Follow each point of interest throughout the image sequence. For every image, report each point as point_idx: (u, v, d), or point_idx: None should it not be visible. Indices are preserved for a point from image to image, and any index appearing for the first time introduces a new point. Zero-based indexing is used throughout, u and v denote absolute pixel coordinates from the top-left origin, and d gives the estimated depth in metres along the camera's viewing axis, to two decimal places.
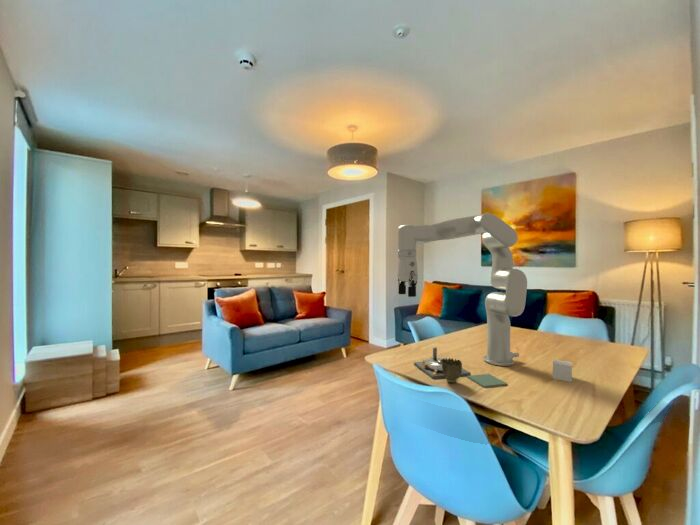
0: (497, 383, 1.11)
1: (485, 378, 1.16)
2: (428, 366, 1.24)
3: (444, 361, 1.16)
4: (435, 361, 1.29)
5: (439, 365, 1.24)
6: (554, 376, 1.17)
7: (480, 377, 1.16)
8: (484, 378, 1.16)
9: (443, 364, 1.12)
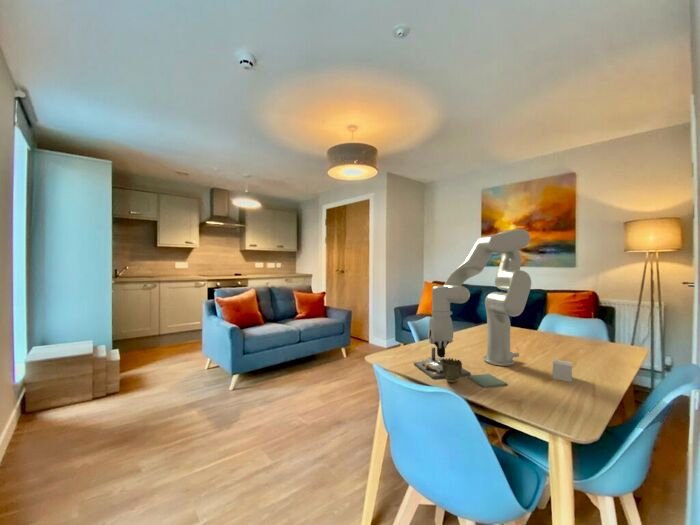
0: (497, 383, 1.11)
1: (485, 378, 1.16)
2: (430, 367, 1.23)
3: (444, 361, 1.16)
4: (435, 361, 1.28)
5: (440, 365, 1.24)
6: (554, 376, 1.17)
7: (480, 377, 1.16)
8: (484, 378, 1.16)
9: (443, 364, 1.12)
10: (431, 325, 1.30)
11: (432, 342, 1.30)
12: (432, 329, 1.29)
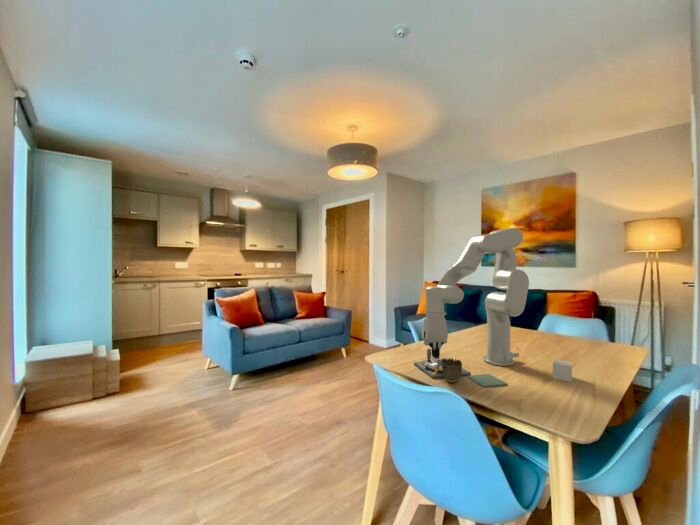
0: (497, 383, 1.11)
1: (485, 378, 1.16)
2: (440, 369, 1.21)
3: (444, 361, 1.16)
4: (434, 362, 1.27)
5: None
6: (554, 376, 1.17)
7: (480, 377, 1.16)
8: (484, 378, 1.16)
9: (443, 364, 1.12)
10: (425, 326, 1.29)
11: (426, 343, 1.29)
12: (426, 330, 1.28)
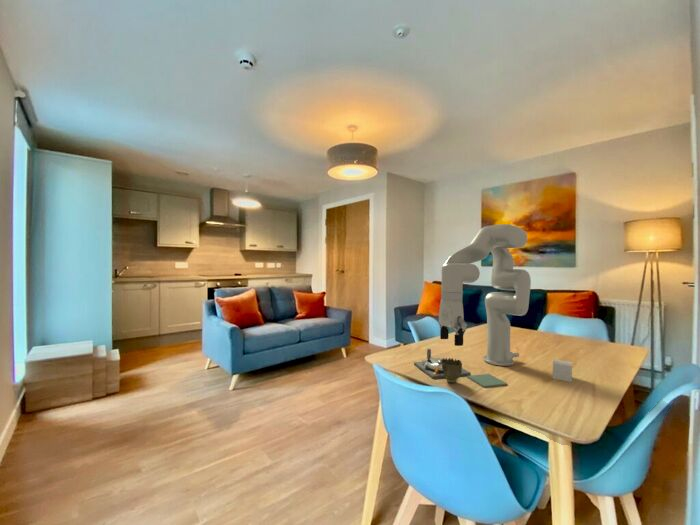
0: (497, 383, 1.11)
1: (485, 378, 1.16)
2: (440, 369, 1.21)
3: (444, 361, 1.16)
4: (434, 362, 1.27)
5: None
6: (554, 376, 1.17)
7: (480, 377, 1.16)
8: (484, 378, 1.16)
9: (443, 364, 1.12)
10: (460, 310, 1.09)
11: None
12: (462, 314, 1.09)
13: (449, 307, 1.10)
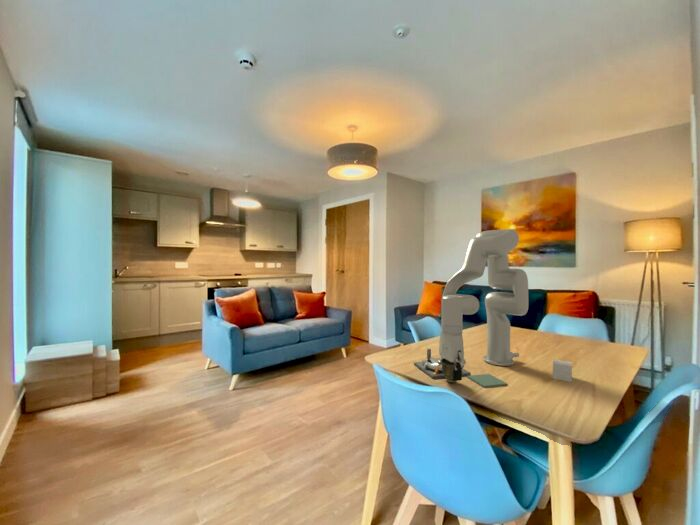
0: (497, 383, 1.11)
1: (485, 378, 1.16)
2: (440, 369, 1.21)
3: (444, 361, 1.16)
4: (434, 362, 1.27)
5: None
6: (554, 376, 1.17)
7: (480, 377, 1.16)
8: (484, 378, 1.16)
9: (443, 364, 1.12)
10: (460, 344, 1.09)
11: None
12: (462, 348, 1.09)
13: (449, 341, 1.10)
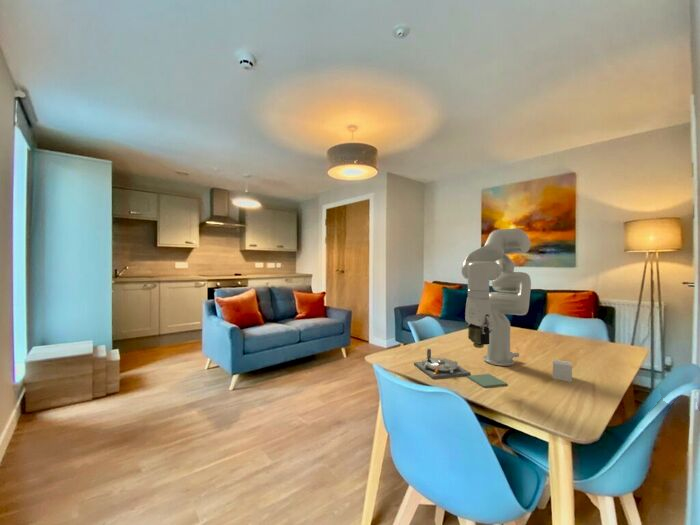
0: (497, 383, 1.11)
1: (485, 378, 1.16)
2: (440, 369, 1.21)
3: (470, 327, 1.18)
4: (434, 362, 1.27)
5: (446, 365, 1.24)
6: (554, 376, 1.17)
7: (480, 377, 1.16)
8: (484, 378, 1.16)
9: (470, 329, 1.14)
10: (488, 308, 1.10)
11: None
12: (490, 312, 1.10)
13: (476, 305, 1.11)
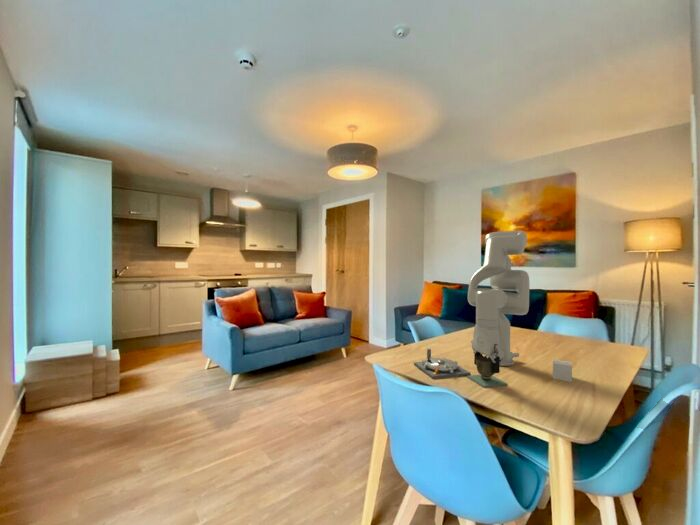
0: (497, 383, 1.11)
1: None
2: (440, 369, 1.21)
3: (478, 358, 1.18)
4: (434, 362, 1.27)
5: (446, 365, 1.24)
6: (554, 376, 1.17)
7: (480, 377, 1.16)
8: None
9: (478, 361, 1.14)
10: (496, 337, 1.10)
11: None
12: (498, 342, 1.10)
13: (485, 335, 1.11)
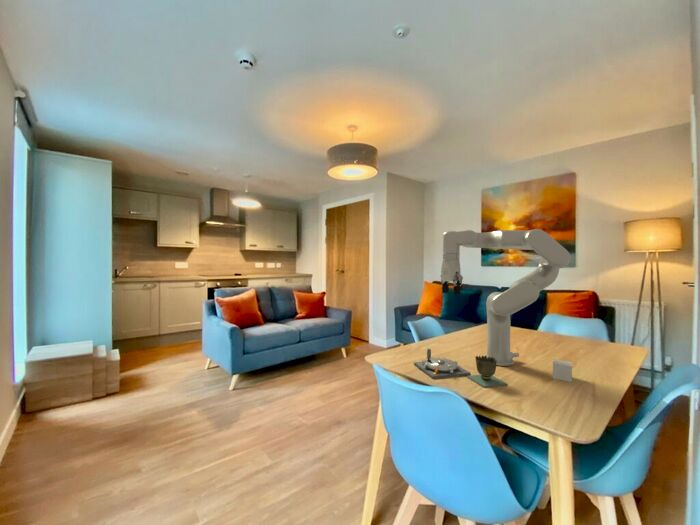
0: (497, 383, 1.11)
1: None
2: (440, 369, 1.21)
3: (478, 358, 1.18)
4: (434, 362, 1.27)
5: (446, 365, 1.24)
6: (554, 376, 1.17)
7: (480, 377, 1.16)
8: None
9: (478, 361, 1.14)
10: (458, 267, 1.38)
11: None
12: (459, 270, 1.39)
13: (449, 265, 1.40)
